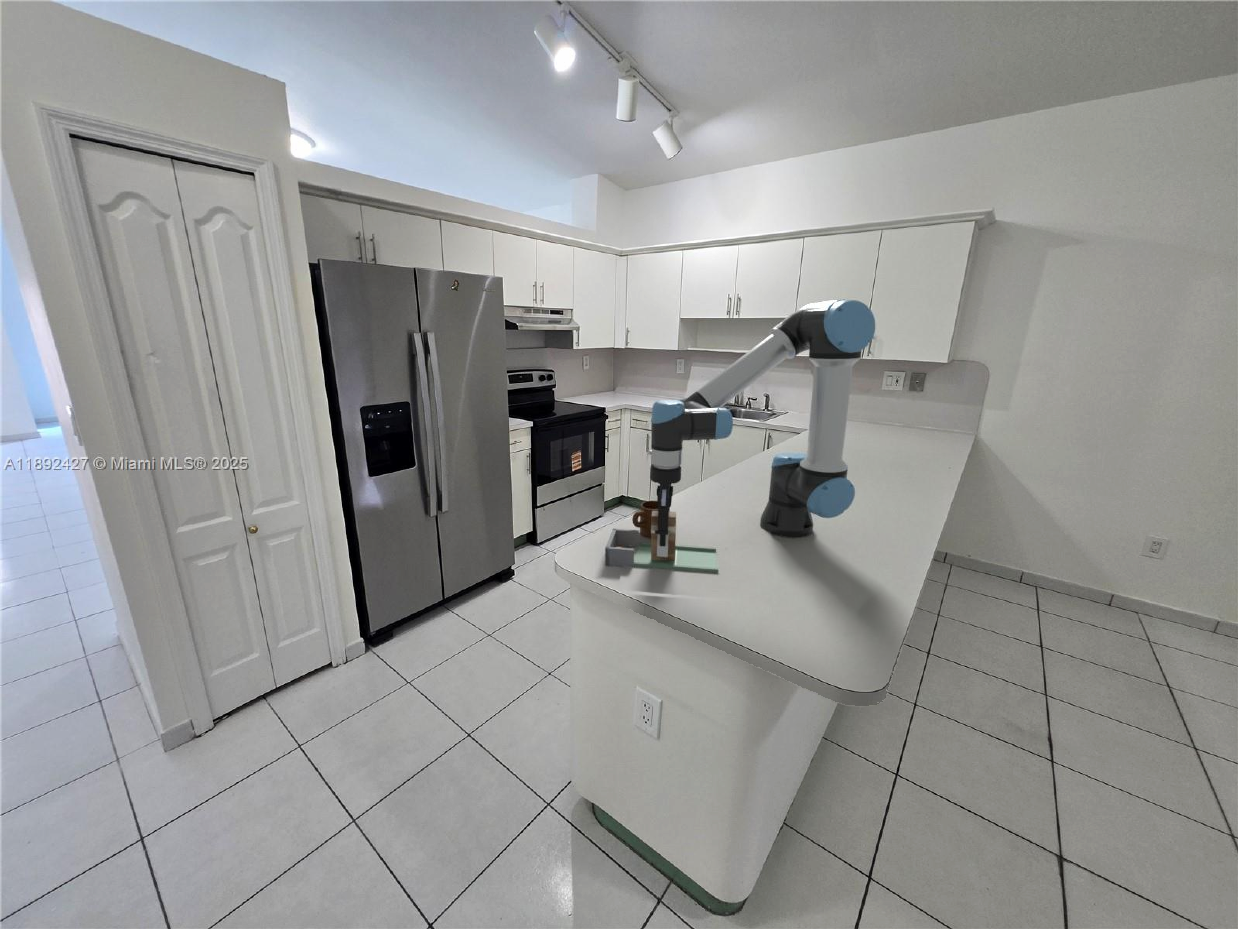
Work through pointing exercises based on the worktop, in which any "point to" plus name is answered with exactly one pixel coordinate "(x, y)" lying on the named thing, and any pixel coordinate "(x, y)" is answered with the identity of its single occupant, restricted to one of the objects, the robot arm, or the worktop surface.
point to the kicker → (670, 538)
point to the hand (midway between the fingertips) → (662, 551)
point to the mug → (645, 517)
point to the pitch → (684, 560)
